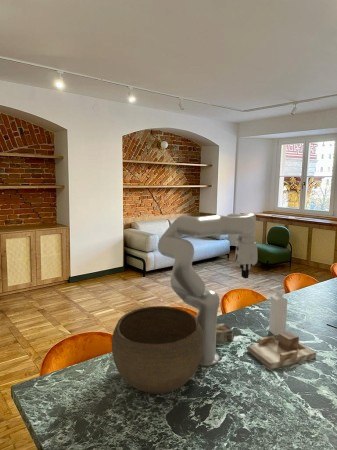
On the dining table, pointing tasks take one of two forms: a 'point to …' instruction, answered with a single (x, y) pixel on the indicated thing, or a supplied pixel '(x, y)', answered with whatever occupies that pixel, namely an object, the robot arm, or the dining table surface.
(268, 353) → the tan puzzle board
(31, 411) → the dining table surface
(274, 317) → the milk
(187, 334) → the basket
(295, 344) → the light brown block
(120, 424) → the dining table surface
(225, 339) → the juice carton
